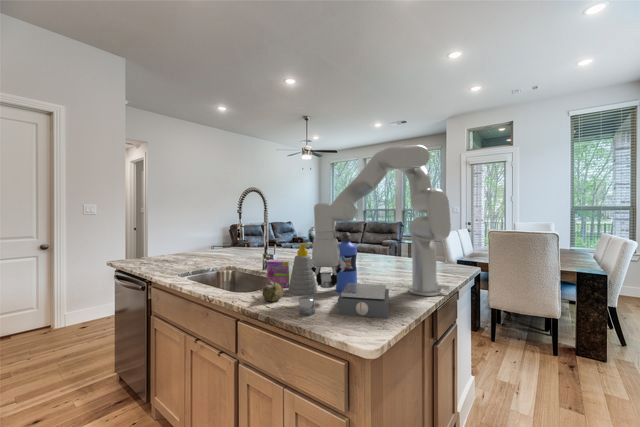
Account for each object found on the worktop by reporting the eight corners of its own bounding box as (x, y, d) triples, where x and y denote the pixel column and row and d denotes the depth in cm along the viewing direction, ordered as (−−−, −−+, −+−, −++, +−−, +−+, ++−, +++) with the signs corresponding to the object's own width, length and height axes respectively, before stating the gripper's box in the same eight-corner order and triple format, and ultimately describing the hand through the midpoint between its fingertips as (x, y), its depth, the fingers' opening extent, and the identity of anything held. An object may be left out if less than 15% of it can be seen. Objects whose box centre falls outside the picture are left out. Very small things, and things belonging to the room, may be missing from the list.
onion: (286, 301, 109) (286, 280, 109) (266, 304, 105) (266, 282, 105) (279, 296, 115) (279, 276, 115) (260, 299, 112) (259, 278, 112)
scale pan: (385, 288, 105) (385, 285, 105) (384, 299, 92) (384, 295, 92) (348, 286, 109) (348, 282, 109) (341, 296, 95) (341, 292, 95)
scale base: (388, 302, 106) (388, 289, 106) (387, 318, 90) (387, 302, 90) (345, 299, 110) (345, 286, 110) (337, 314, 94) (337, 299, 94)
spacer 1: (316, 311, 97) (316, 296, 97) (312, 317, 92) (311, 301, 92) (302, 310, 98) (302, 296, 98) (297, 315, 93) (297, 300, 93)
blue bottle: (356, 294, 117) (355, 233, 117) (333, 292, 120) (333, 232, 120) (358, 288, 127) (358, 231, 127) (337, 287, 129) (337, 231, 129)
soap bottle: (313, 296, 116) (313, 245, 116) (284, 294, 118) (283, 244, 118) (320, 288, 128) (319, 242, 128) (293, 286, 130) (292, 241, 130)
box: (267, 287, 130) (266, 261, 130) (271, 284, 136) (271, 259, 136) (289, 288, 128) (288, 261, 128) (292, 284, 134) (292, 259, 134)
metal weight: (335, 284, 109) (334, 271, 109) (332, 288, 104) (331, 274, 104) (322, 284, 110) (321, 271, 110) (318, 287, 105) (318, 274, 105)
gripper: (349, 234, 109) (351, 283, 109) (306, 235, 113) (308, 281, 113) (346, 236, 101) (348, 288, 101) (300, 237, 106) (302, 286, 106)
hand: (327, 284), depth 107 cm, fingers closed on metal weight, 5 cm apart
